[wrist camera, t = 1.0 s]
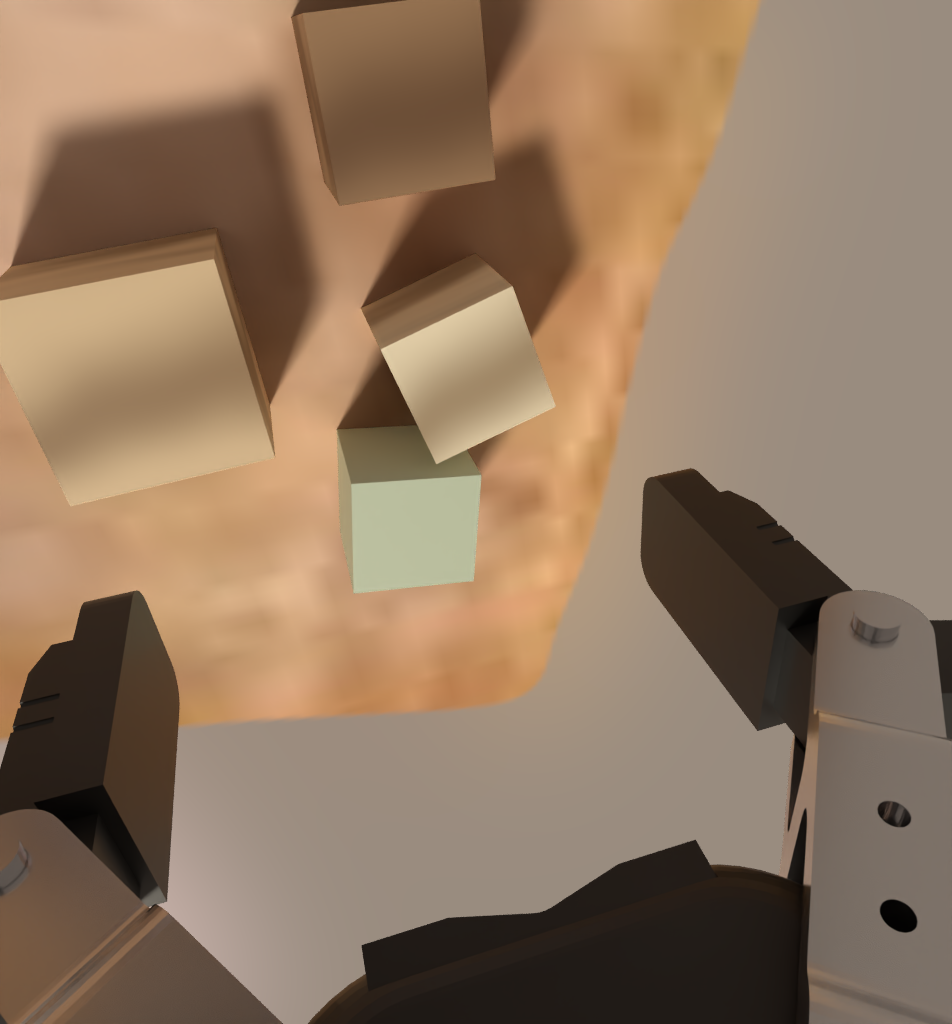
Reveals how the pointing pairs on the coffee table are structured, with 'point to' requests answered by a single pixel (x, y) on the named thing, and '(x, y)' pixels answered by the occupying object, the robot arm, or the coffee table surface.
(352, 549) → the sage block
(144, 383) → the oak base
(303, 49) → the walnut block
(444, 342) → the beech block
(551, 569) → the coffee table surface
